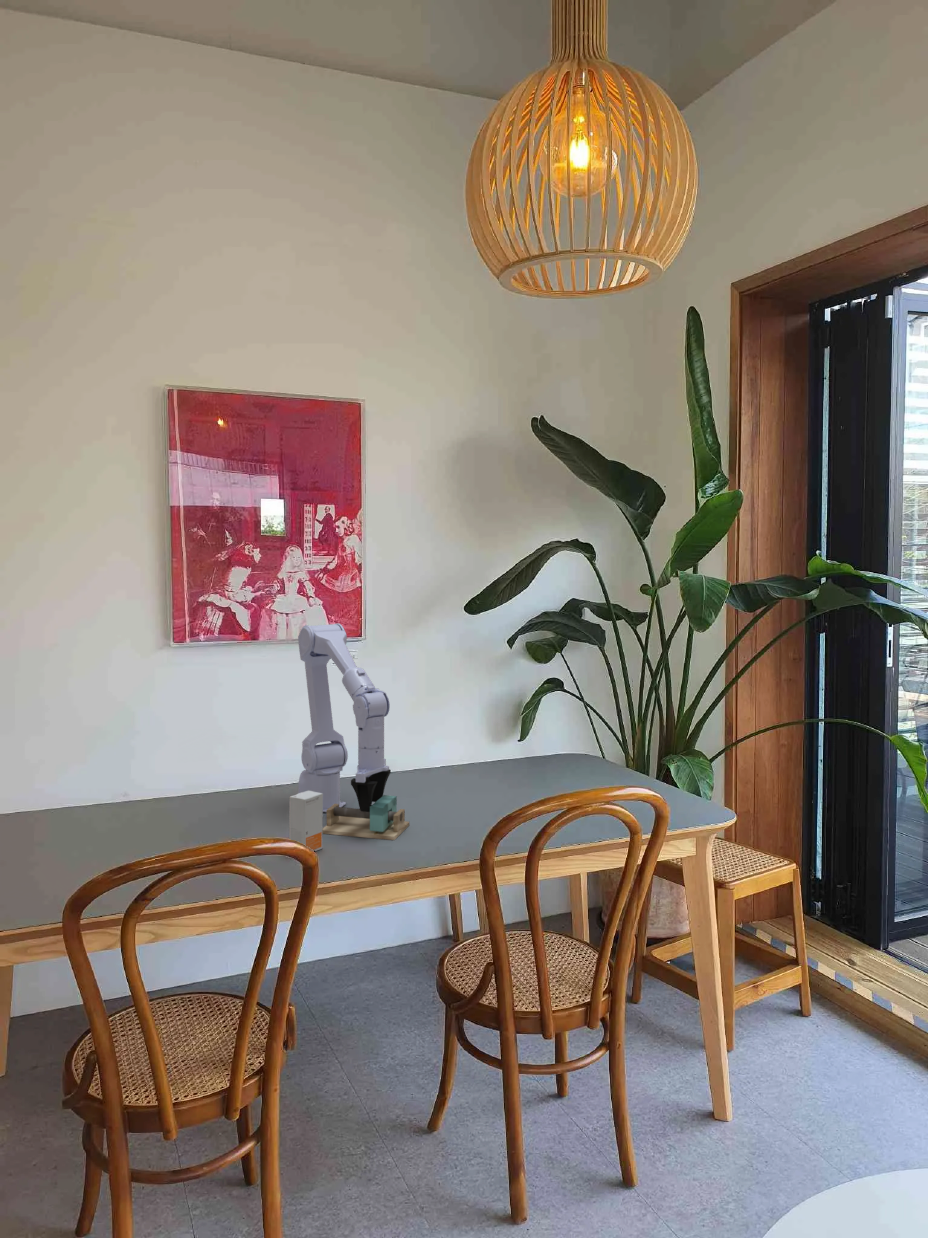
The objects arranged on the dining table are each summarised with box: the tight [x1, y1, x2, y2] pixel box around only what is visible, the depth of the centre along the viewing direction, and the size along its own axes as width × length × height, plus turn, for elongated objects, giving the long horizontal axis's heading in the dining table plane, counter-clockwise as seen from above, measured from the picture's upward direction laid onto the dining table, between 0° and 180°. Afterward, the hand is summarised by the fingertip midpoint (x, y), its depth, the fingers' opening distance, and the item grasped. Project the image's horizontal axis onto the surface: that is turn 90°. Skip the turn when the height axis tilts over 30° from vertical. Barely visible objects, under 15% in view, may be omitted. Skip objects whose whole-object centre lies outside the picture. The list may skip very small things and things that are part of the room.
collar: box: [370, 794, 398, 832], centre depth 216 cm, size 3×10×5 cm, turn 166°
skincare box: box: [288, 791, 324, 852], centre depth 202 cm, size 6×4×12 cm
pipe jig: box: [322, 804, 410, 841], centre depth 217 cm, size 17×11×5 cm, turn 76°
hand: (371, 806), depth 217 cm, fingers open, 7 cm apart
